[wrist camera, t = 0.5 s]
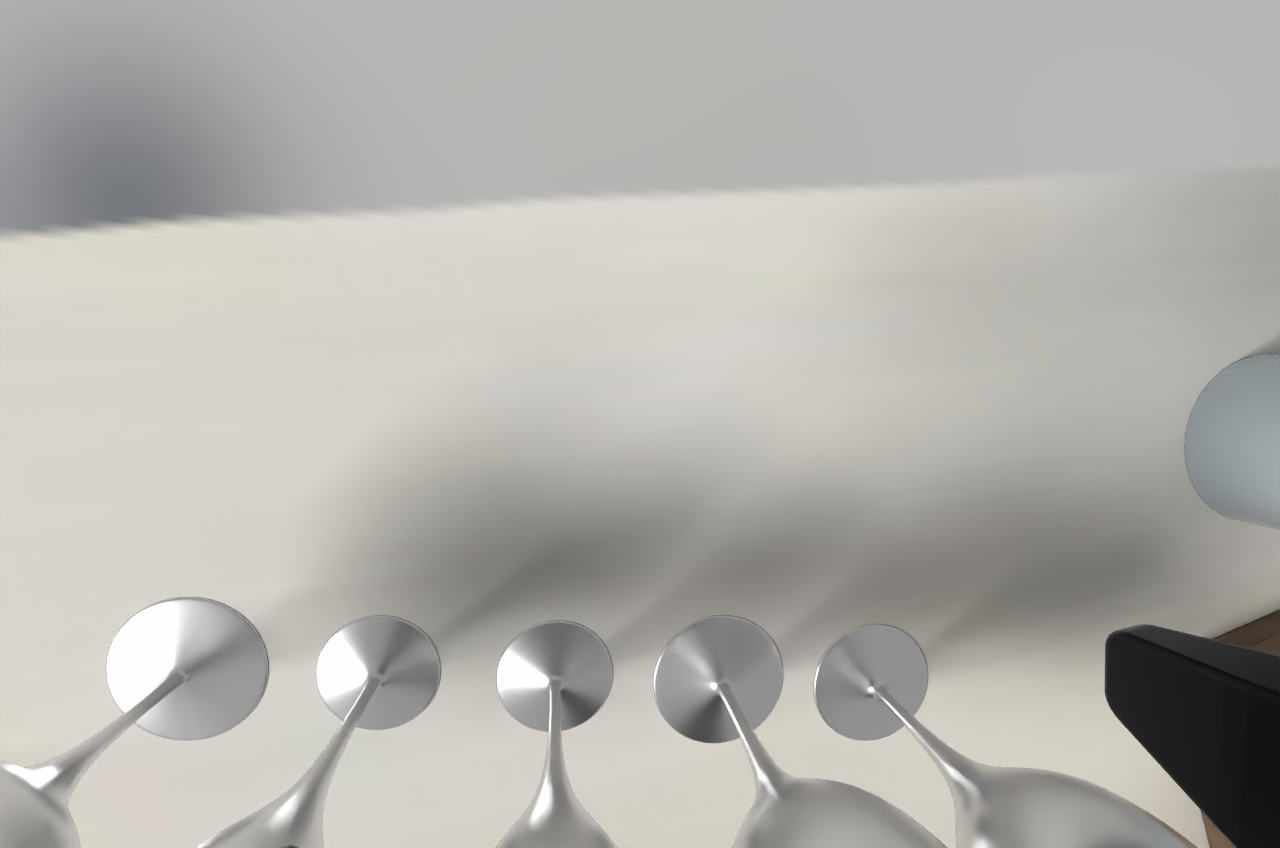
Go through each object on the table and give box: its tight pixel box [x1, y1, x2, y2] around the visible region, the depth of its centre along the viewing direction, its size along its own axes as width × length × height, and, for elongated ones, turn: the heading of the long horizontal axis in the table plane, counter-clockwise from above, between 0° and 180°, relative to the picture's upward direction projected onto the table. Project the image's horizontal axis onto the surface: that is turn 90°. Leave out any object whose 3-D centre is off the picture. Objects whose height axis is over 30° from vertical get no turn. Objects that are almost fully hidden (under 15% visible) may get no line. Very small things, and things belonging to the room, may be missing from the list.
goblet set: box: [0, 597, 1197, 848], centre depth 14 cm, size 28×6×13 cm, turn 85°
